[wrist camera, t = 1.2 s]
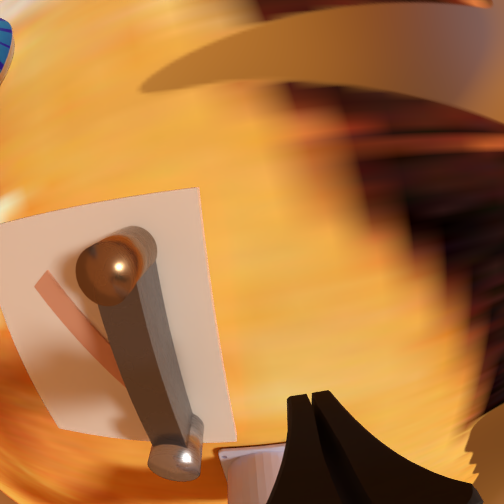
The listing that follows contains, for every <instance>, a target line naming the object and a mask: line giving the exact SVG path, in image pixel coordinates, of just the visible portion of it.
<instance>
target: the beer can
mask: <svg viewBox="0 0 504 504" xmlns="http://www.w3.org/2000/svg"><path fill="white" fill-rule="evenodd" d="M14 45H15V44H14V38H13V32H12V27H11V25H10V24H9V23H8V22H7V21H5V20H3V19H1V18H0V84H1V82H2V81H3V79H4V77H5V75H6V73H7V71H8V69H9V66H10V64H11V61H12V58H13V54H14Z"/></svg>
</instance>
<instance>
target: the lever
mask: <svg viewBox="0 0 504 504" xmlns="http://www.w3.org/2000/svg"><path fill="white" fill-rule="evenodd" d="M156 258H157V245H156V242H155V240H154V238H153V236H152V235H151V234H150V233H149V232H148V231H147V230H145V229H144V228H141V227H138V226H128V227H125V228H123V229H121V230H119V231H117V232H116V233H114V234H112V235H110V236H108V237H106V238H104V239H103V240H101V241H99V242H97V243H95V244H94V245H92V246H90V247H88V248H86V249H85V250H84V251H83V252H82V253H81V254H80V256H79V257H78V260H77V263H76V270H75V272H76V279H77V282H78V285H79V287H80V289H81V290H82V292H83V293H84V294H85V296H86V297H87V298H89V299H90V300H91V301H93V302H94V303H96V304H98V308H99V311H100V314H101V318H102V321H103V324H104V328H105V331H106V334H107V337H108V340H109V343H110V346H111V349H112V352H113V355H114V358H115V360H116V363H117V366H118V368H119V371H120V374H121V376H122V379H123V381H124V384H125V386H126V389H127V391H128V394H129V396H130V398H131V401H132V403H133V405H134V408H135V410H136V412H137V414H138V416H139V419H140V421H141V423H142V425H143V427H144V429H145V431H146V433H147V435H148V437H149V439H150V441H151V443H152V447H151V451H150V455H149V459H148V467H149V468H150V470H151V471H153V472H154V473H155V474H157V475H158V476H161V477H163V478H165V479H169V480H173V481H191V480H194V479H196V478H198V477H199V475H200V469H201V457H202V446H203V435H204V423H203V421H202V420H201V419H200V418H199V417H198V416H197V415H195V414H193V413H192V409H191V406H190V403H189V399H188V396H187V393H186V389H185V386H184V382H183V379H182V375H181V371H180V368H179V364H178V360H177V356H176V352H175V348H174V344H173V340H172V336H171V332H170V328H169V323H168V319H167V314H166V310H165V305H164V300H163V295H162V290H161V285H160V280H159V275H158V270H157V264H156Z"/></svg>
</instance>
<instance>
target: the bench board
mask: <svg viewBox="0 0 504 504" xmlns="http://www.w3.org/2000/svg"><path fill="white" fill-rule="evenodd" d="M128 226H138V227H141V228H144V229H145V230H147V231H148V232H149V233H150V234H151V235H152V236H153V238H154V240H155V242H156V245H157V258H156V264H157V270H158V275H159V280H160V285H161V290H162V295H163V300H164V305H165V310H166V314H167V319H168V323H169V328H170V332H171V336H172V340H173V344H174V348H175V352H176V356H177V360H178V364H179V368H180V371H181V375H182V379H183V382H184V386H185V389H186V393H187V396H188V399H189V403H190V406H191V409H192V413H193V414H195V415H197V416H198V417H199V418H200V419H201V420H202V421H203V423H204V435H203V443H214V442H236V441H237V432H236V427H235V422H234V417H233V412H232V407H231V402H230V397H229V391H228V386H227V380H226V375H225V369H224V363H223V358H222V352H221V346H220V340H219V333H218V327H217V321H216V314H215V308H214V301H213V294H212V287H211V280H210V273H209V266H208V258H207V250H206V243H205V235H204V226H203V218H202V209H201V200H200V191H199V187H194V188H186V189H178V190H171V191H164V192H157V193H150V194H143V195H137V196H131V197H125V198H119V199H113V200H107V201H102V202H96V203H91V204H86V205H80V206H75V207H70V208H66V209H61V210H56V211H52V212H47V213H43V214H38V215H34V216H30V217H26V218H21V219H17V220H13V221H9V222H6V223H2V224H0V306H1V309H2V312H3V315H4V318H5V320H6V323H7V326H8V329H9V331H10V334H11V336H12V339H13V341H14V344H15V346H16V348H17V351H18V353H19V355H20V357H21V360H22V362H23V364H24V366H25V368H26V370H27V372H28V374H29V376H30V378H31V380H32V382H33V384H34V386H35V388H36V390H37V392H38V394H39V395H40V397H41V399H42V401H43V403H44V404H45V406H46V408H47V409H48V411H49V413H50V414H51V416H52V418H53V419H54V421H55V423H56V424H57V426H58V427H59V428H61V429H65V430H70V431H75V432H81V433H86V434H92V435H98V436H105V437H112V438H120V439H130V440H140V441H150V439H149V437H148V435H147V433H146V431H145V429H144V427H143V425H142V423H141V421H140V419H139V416H138V414H137V412H136V410H135V408H134V405H133V403H132V401H131V398H130V396H129V394H128V391H127V389H126V386H125V384H124V381H123V379H122V376H121V374H120V371H119V368H118V366H117V363H116V360H115V358H114V355H113V352H112V349H111V346H110V343H109V340H108V337H107V334H106V331H105V328H104V324H103V321H102V318H101V314H100V311H99V308H98V304H96V303H94V302H93V301H91V300H90V299H89V298H87V297H86V296H85V294H84V293H83V292H82V290H81V289H80V287H79V285H78V282H77V279H76V272H75V270H76V263H77V260H78V257H79V256H80V254H81V253H82V252H83V251H84V250H85V249H86V248H88V247H90V246H92V245H94V244H95V243H97V242H99V241H101V240H103V239H104V238H106V237H108V236H110V235H112V234H114V233H116V232H117V231H119V230H121V229H123V228H125V227H128Z"/></svg>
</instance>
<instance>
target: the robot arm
mask: <svg viewBox="0 0 504 504" xmlns="http://www.w3.org/2000/svg"><path fill="white" fill-rule="evenodd" d="M287 421H288V433H287V440H286V443H283V444H275V445H266V446H256V447H244V448H226V449H220V450H219V451H218V455H219V459H220V462H221V465H222V468H223V471H224V474H225V477H226V480H227V483H228V504H483V500H482V498H481V497H480V495H479V493H478V491H477V490H476V489H475V488H474V487H473V485H472V484H470V483H466V482H462V481H458V480H454V479H451V478H447V477H445V476H442V475H439V474H437V473H434V472H432V471H429V470H427V469H425V468H423V467H421V466H419V465H417V464H415V463H413V462H411V461H409V460H407V459H406V458H404V457H402V456H401V455H399V454H397V453H396V452H394V451H393V450H391V449H390V448H389V447H387V446H386V445H384V444H383V443H382V442H380V441H379V440H378V439H377V438H375V437H374V436H373V435H372V434H371V433H369V432H368V431H367V430H366V429H365V428H364V427H363V426H362V425H361V424H360V423H359V422H358V421H357V420H355V419H354V418H353V417H352V416H351V414H350V413H349V412H348V411H347V410H346V409H345V408H344V407H343V406H342V405H341V404H340V403H339V401H338V400H337V399H336V398H335V397H334V395H333V394H332V393H331V392H330V391H329V390H326V391H321V392H315V393H312V405H311V403H310V400H309V398H308V396H307V394H303V395H296V396H290V397H289V398H288V399H287Z"/></svg>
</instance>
